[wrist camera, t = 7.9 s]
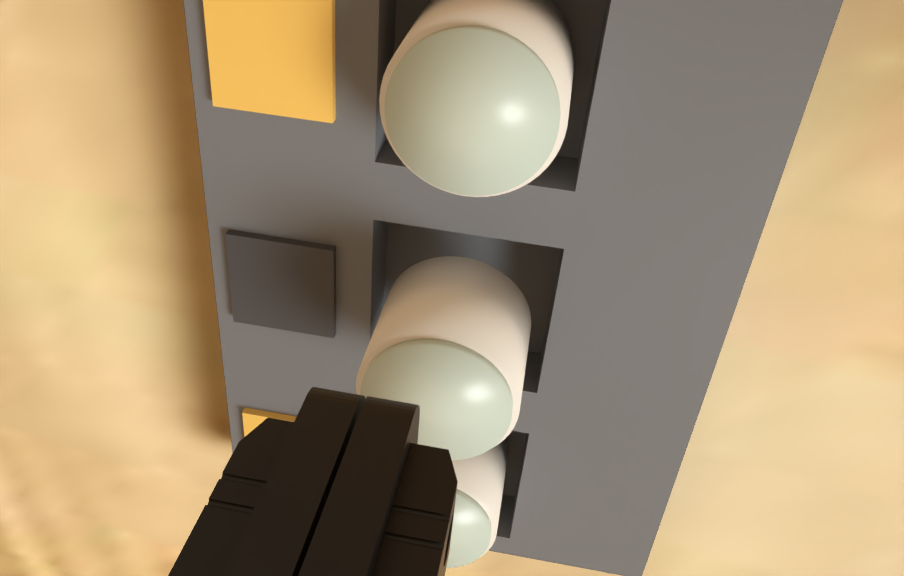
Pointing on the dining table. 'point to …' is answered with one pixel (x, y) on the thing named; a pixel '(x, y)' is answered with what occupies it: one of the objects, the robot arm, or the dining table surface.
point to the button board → (508, 230)
